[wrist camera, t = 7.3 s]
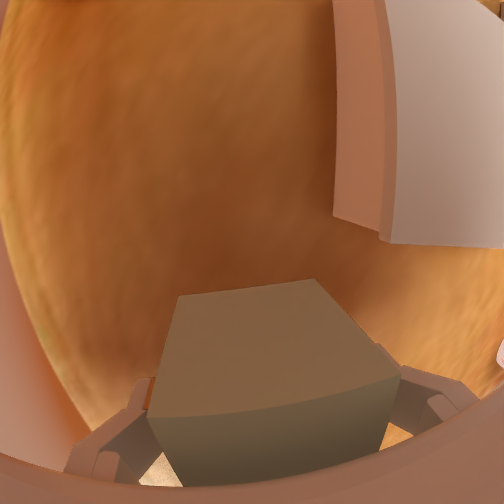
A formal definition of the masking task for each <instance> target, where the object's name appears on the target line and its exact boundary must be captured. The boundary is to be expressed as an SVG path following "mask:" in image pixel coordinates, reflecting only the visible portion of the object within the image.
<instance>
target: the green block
mask: <svg viewBox="0 0 504 504" xmlns="http://www.w3.org/2000/svg"><path fill="white" fill-rule="evenodd" d="M401 375H402V373H401V372H400V371H399V370H398V369H397V368H396V367H395V366H394V364H393V363H392V362H391V361H390V360H389V359H388V358H387V357H386V355H385V354H384V353H383V352H382V351H381V350H380V349H379V348H378V347H377V345H376V344H375V343H374V342H373V341H372V340H371V339H370V338H369V337H368V336H367V334H366V333H365V332H364V331H363V330H362V329H361V328H360V327H359V326H358V325H357V323H356V322H355V321H354V320H353V319H352V318H351V317H350V316H349V315H348V314H347V313H346V312H345V310H344V309H343V308H342V307H341V306H340V305H339V304H338V303H337V302H336V301H335V300H334V299H333V298H332V297H331V295H330V294H329V293H328V292H327V291H326V290H325V289H324V288H323V287H322V286H321V285H320V284H319V283H318V282H317V281H316V280H315V278H312V279H306V280H299V281H292V282H285V283H278V284H271V285H263V286H256V287H248V288H241V289H233V290H225V291H216V292H208V293H199V294H191V295H182V296H178V300H177V303H176V306H175V310H174V313H173V317H172V320H171V324H170V327H169V331H168V334H167V338H166V341H165V345H164V349H163V352H162V356H161V360H160V364H159V367H158V371H157V375H156V379H155V383H154V387H153V391H152V395H151V399H150V404H149V408H148V412H147V417H146V418H147V420H148V422H149V424H150V426H151V429H152V431H153V433H154V435H155V437H156V439H157V441H158V443H159V444H160V446H161V448H162V450H163V452H164V454H165V456H166V458H167V459H168V461H169V463H170V465H171V467H172V468H173V470H174V472H175V474H176V475H177V477H178V479H179V480H180V482H181V484H182V485H183V487H198V486H220V485H232V484H243V483H251V482H259V481H266V480H272V479H278V478H284V477H289V476H294V475H299V474H304V473H308V472H312V471H316V470H320V469H324V468H328V467H332V466H335V465H339V464H342V463H345V462H349V461H352V460H355V459H358V458H361V457H364V456H367V455H370V454H372V453H375V452H378V451H379V449H380V446H381V443H382V440H383V437H384V435H385V432H386V428H387V425H388V422H389V419H390V416H391V412H392V409H393V406H394V402H395V398H396V395H397V391H398V387H399V383H400V379H401Z"/></svg>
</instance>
